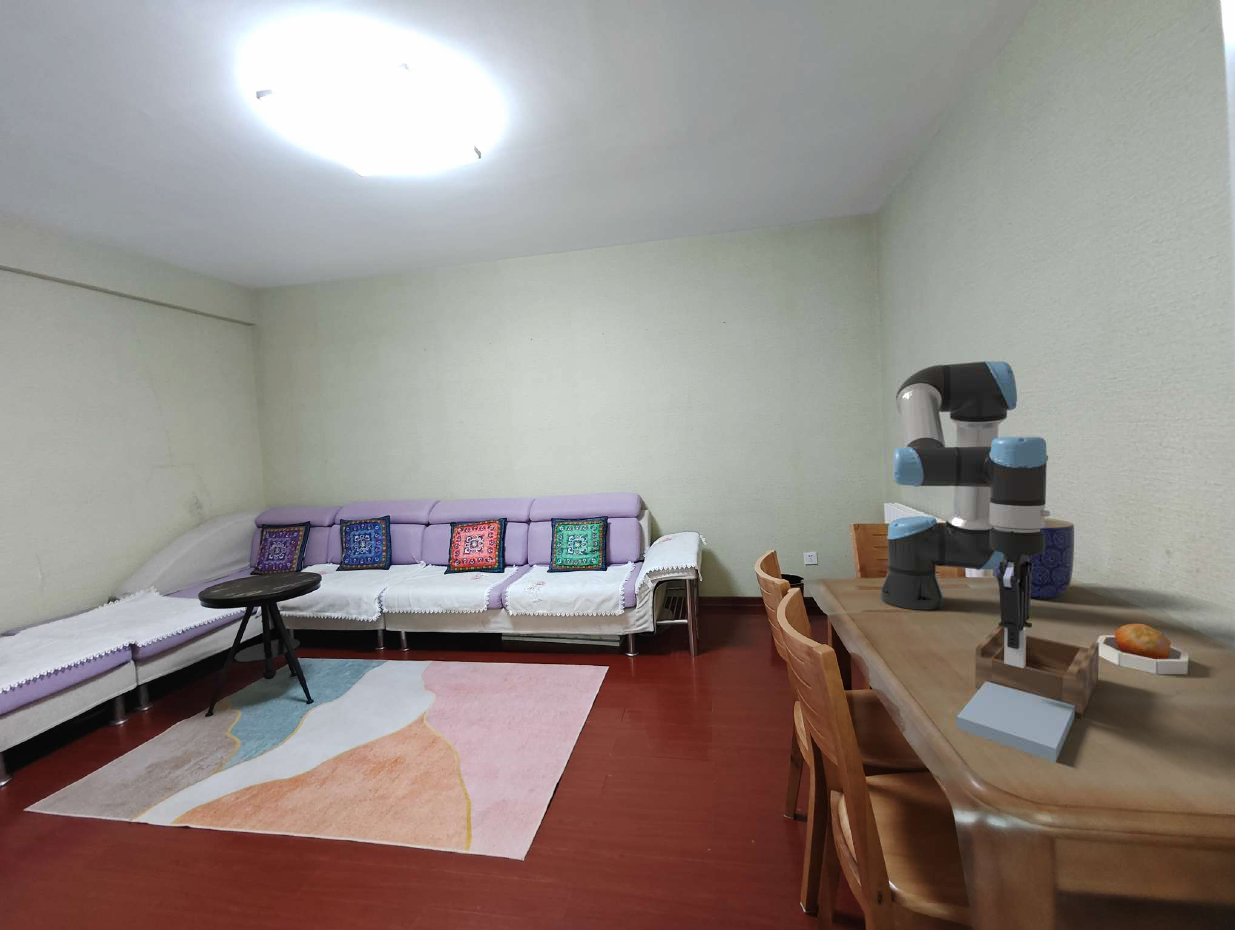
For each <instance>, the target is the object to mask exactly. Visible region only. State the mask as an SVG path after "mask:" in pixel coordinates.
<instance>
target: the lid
mask: <svg viewBox="0 0 1235 930" xmlns="http://www.w3.org/2000/svg"><path fill="white" fill-rule="evenodd" d="M1074 720H1075V705H1071V704H1067V703H1064V702H1060V701H1056V700H1053V699H1049V698H1045V697H1042V696H1038V695H1034V694H1030V693H1027V692H1023V691H1019V690H1016V689H1012V688H1008V687H1005V686H1001V685H997V684H994V683H990V682H985V683H984V684H983V685H982V686H981V688H980V689H979V688H978V690H977V692H975V693H974V695H973V696H972V697H971V699H970V700H969V701H968V702H967V704H965V707H963V708H962V709H961V711H960V712H959V713H958V714H957V716H956V730H958V731H959V730H960V731H961V732H962V731H963V732H965V733H969V734H972V735H974V736H977V737H980V738H982V739H987V740H988V741H991V742H994V743H998V744H1001V745H1004V746H1007V747H1010V748H1012V749H1014V750H1015V749H1016V750H1019V751H1021V752H1024V753H1027V754H1030V755H1033V756H1035V757H1038V758H1041V759H1043V760H1044V759H1045V760H1048V761H1051V762H1053V763H1056V762H1057V760H1058V757H1059V755H1060V753H1061V750H1062V749H1063V746H1064V743H1065V741H1066V739H1067V736H1068V734H1069V732H1070V729H1071V727H1072V725H1073V722H1074Z"/></svg>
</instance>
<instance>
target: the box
mask: <svg viewBox="0 0 1235 930" xmlns="http://www.w3.org/2000/svg"><path fill="white" fill-rule="evenodd" d="M1004 634H1005V627H1001V626H999V625H998V626H996V628H995V629H994V630H993V631H992V632H990V634H988V636H986V637H985V638H984V639H983V640H982V641H981V642H980V643H979V644H978V645H977V646H976V647H975V669H974V670H975V672H974V673H975V674H974V675H975V676H974V677H975V680H974V681H975V683H974V685H975V688H976V689H978V690H979V689H980V688H981V686H982V685H983V684H984V683H985V682H990V683H994V684H997V685H1001V686H1005V687H1008V688H1012V689H1016V690H1019V691H1023V692H1027V693H1030V694H1034V695H1038V696H1042V697H1045V698H1049V699H1053V700H1056V701H1060V702H1064V703H1067V704H1071V705H1075V717H1076V718H1080V719H1083V716H1084V715H1085V712H1086V710H1087V707H1088V705H1089V703H1090V701H1091V699H1092V697H1093V694H1094V692H1095V689H1096V688H1097V685H1098V683H1099V662H1100V661H1099V659H1100V658H1099V657H1100V656H1099V643H1098V642H1097V641H1092V643H1091V645H1090V647H1089V648H1088V647H1083V646H1080V645H1075V644H1070V643H1066V642H1061V641H1056V640H1051V639H1046V638H1042V637H1037V636H1032V635H1027V634H1026V665H1025V667H1024V668H1020V667H1016V666H1012V665H1008V664H1005V663H1004Z"/></svg>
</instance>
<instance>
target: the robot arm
mask: <svg viewBox="0 0 1235 930" xmlns="http://www.w3.org/2000/svg"><path fill="white" fill-rule="evenodd" d="M1017 392H1018V391H1017V385H1016V379H1015V375H1014V371H1013V368H1012V367H1011V365H1010V364H1009V363H1007V362H1006V361H1003V360H1002V361H1001V360H999V361H996V360H995V361H994V360H992V361H988V360H985V361H983V360H982V361H973V362H963V363H952V364H935V365H932V366H928V367H926V368H922V369H920V370H919V371H916V372H915V373H913V374H912V375H911V376H908V378H906V380H904V382H902V384H901V385H900V387H899V388H898V390H897V392H896V396H895V397H896V398H895V404H896V410H897V412H898V413H899V414H900V415H901V428H902V446H903V447H899V448H896V449H895V450H894V451H893V481H894V482H895V484H897V485H900V486H910V487H911V486H913V487H916V488H917V487H954V488H953V490H954V491H953V511H952V512H950V513H949V514H947V515H946V519H945V520H946V521H945V522H938V521H937V519H936V518H935V517H933V516H926V515H925V516H923V515H922V516H907V517H901V518H896V519H893V520H892V521H890V523H889V524H888V527H887V528H888V529H887V536H886V539H887V541H888V542H887V548H888V549H887V573H886V575H885V579H884V582H883V583H882V586H881V589H880V598H881V600H882V601H883V602H885V603H886V604H888V605H891V606H895V607H899V608H904V609H909V610H922V611H924V610H925V611H927V610H936V609H937V610H938V609H941V608H942V607H943V606H944V595H943V593H942V589H941V587H940V584H939V580H938V579H937V575H936V574H937V573H936V572H937V571H936V569H937V567H943V568H959V569H971V570H977V571H981V570H992V571H993V569H996V568H998V567H999V566H1000V568H999V570H1000V572H1001V574H999V575H998V576H997V579H998V582H997V583H999V584H998V587H999V589H998V590H999V591H998V592H999V605H1000V606H999V607H1000V608H999V609H1000V622H998V626H1001V627H1005V634H1004V663H1005V664H1008V665H1012V666H1016V667H1020V668H1024V667H1025V665H1026V635H1027V628H1030V629H1031V628H1032V627H1033V623H1031V622H1028V621H1029V620H1030V617H1031V616H1030V607H1031V598H1030V596H1031V581H1032V572H1033V569H1034V566H1033V563H1031V562H1029V555H1040V554H1043V553H1044V552H1045V533H1044V532H1043V531H1042V530H1040V529H1042V528H1044V527H1045V518H1046V517H1050V516H1051V512H1050V511H1049V510H1045V509H1046V501H1047V499H1046V498H1047V497H1046V496H1047V495H1046V494H1047V464H1048V461H1049V456H1048V452H1047V442H1046V440H1045V439H1044V438H1043V437H1041V436H1008V437H1007V436H1004V437H1003V436H1001V437H999V425H1000V424H1001V423H1003V422H1004V421H1005V420H1007V418H1008V411H1012V410H1015V409H1017V402H1018V394H1017ZM940 413H949V419H950V421H952V422H953V423H954V424H955V425H956V433H955V434H956V437H955V438H956V441H955V446H951V447H950V446H949V447H948V446H946V443H945V442H946V441H945V438H944V433H943V432H944V430H943V428H942V421H941V415H940Z"/></svg>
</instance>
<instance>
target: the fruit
mask: <svg viewBox="0 0 1235 930" xmlns="http://www.w3.org/2000/svg"><path fill="white" fill-rule="evenodd" d="M1114 635H1115V639H1116V643H1117V647H1118V649H1117V650H1118V651H1121V652H1123V653H1128V654H1132V655H1137V656H1142V657H1147V658H1152V659H1168V658H1169V654H1170V646H1172V644H1171V640H1169V639H1168V637H1166V636H1165V634H1164V633H1163V632H1161V631H1159V630H1158V629H1155V628H1153V627H1151V626H1149V625H1147V624H1145V623H1129V624H1125V625H1122V626H1120V627H1119V628H1118V629H1116V630H1115V632H1114Z"/></svg>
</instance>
